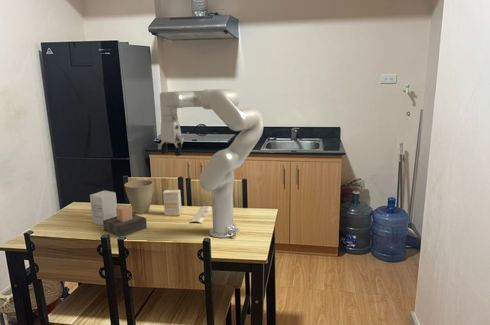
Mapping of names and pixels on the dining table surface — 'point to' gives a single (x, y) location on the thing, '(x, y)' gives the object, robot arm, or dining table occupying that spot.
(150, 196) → the plant pot
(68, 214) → the dining table surface
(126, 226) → the black plinth
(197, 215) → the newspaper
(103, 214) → the supplement box
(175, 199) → the supplement box
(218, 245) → the dining table surface
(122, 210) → the terracotta block
